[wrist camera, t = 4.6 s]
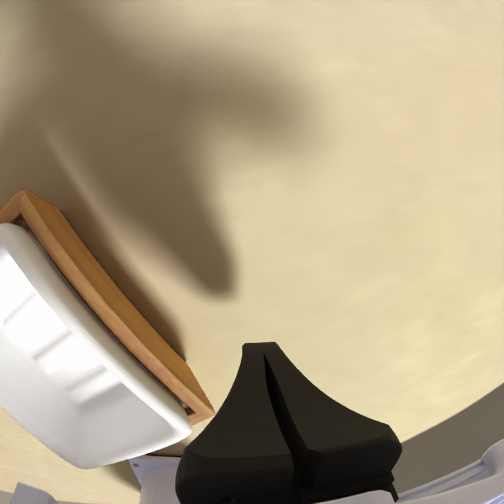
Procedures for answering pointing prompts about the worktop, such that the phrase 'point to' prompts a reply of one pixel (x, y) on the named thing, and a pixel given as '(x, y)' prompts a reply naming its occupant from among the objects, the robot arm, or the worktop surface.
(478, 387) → the worktop surface
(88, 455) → the soap dish
